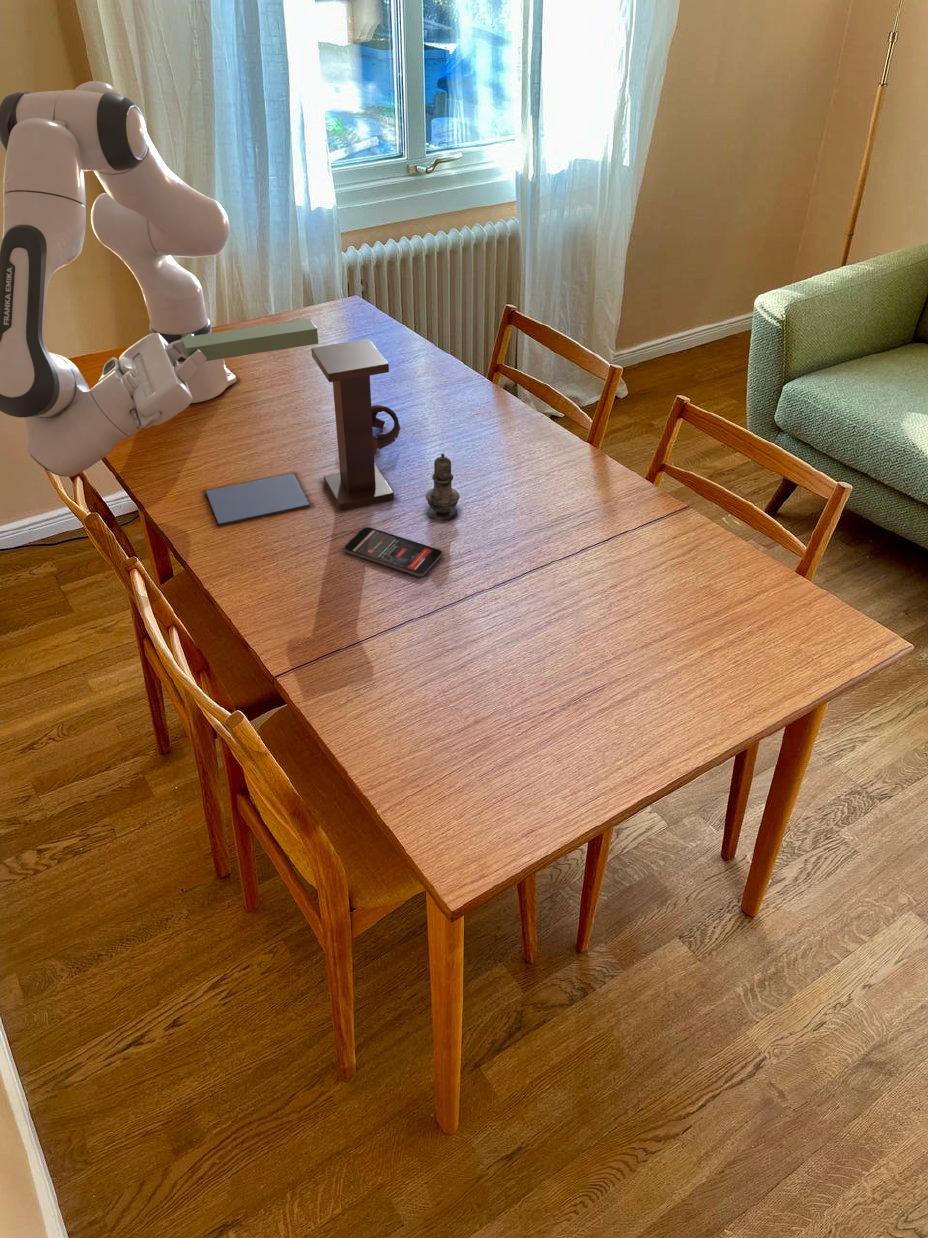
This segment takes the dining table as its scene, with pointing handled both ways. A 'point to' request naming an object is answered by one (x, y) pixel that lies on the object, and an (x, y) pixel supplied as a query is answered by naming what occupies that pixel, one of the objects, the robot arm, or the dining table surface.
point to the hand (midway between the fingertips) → (199, 345)
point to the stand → (354, 422)
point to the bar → (252, 340)
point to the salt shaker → (442, 492)
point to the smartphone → (393, 551)
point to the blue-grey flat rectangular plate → (256, 499)
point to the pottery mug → (386, 438)
